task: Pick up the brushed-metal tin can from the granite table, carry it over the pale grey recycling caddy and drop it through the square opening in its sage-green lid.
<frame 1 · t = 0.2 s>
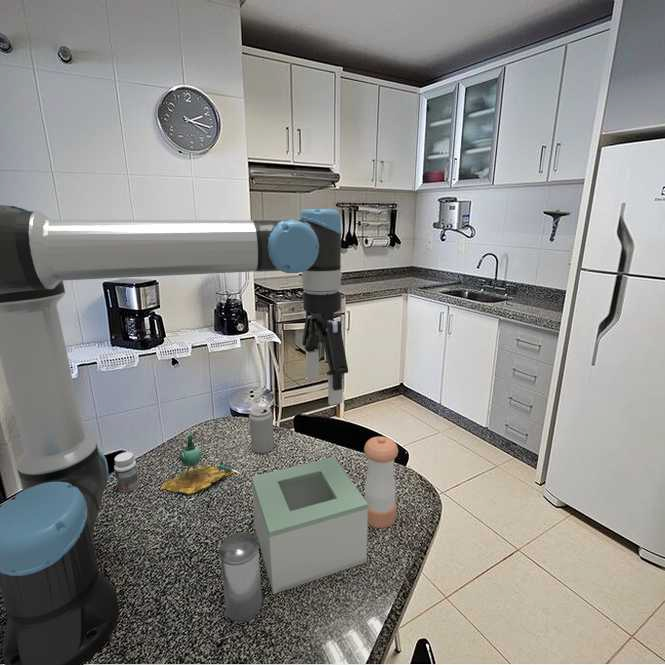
hand: (323, 390, 84), 28 cm above the table, fingers open, 13 cm apart
pill bottle: (129, 487, 97), on the table
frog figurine: (198, 483, 99), on the table
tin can: (244, 604, 67), on the table
beverage can: (263, 449, 113), on the table
pepper shaker: (379, 516, 87), on the table
caddy: (308, 545, 79), on the table
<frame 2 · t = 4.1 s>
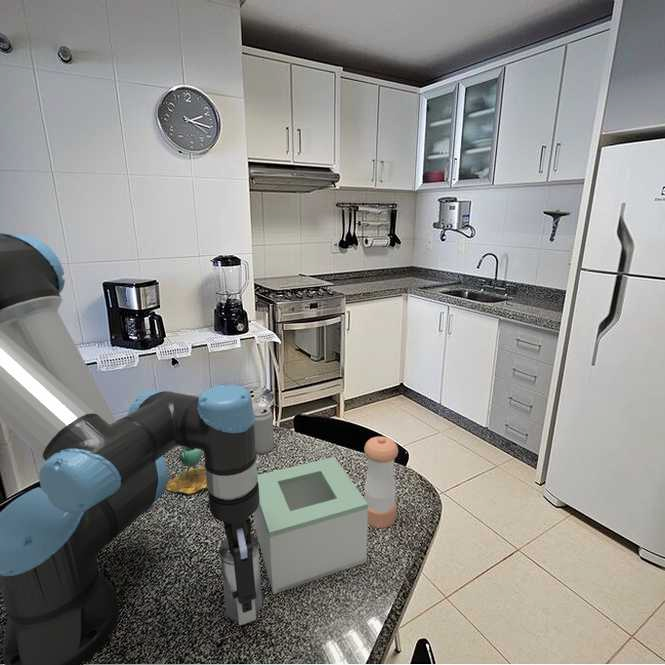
hand: (243, 602, 67), 0 cm above the table, fingers closed on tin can, 6 cm apart
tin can: (244, 604, 67), on the table, touching gripper
everything else where it was.
when the fingers open (15 cm above the table, at t = 7.7 s): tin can drops 14 cm, resting on caddy.
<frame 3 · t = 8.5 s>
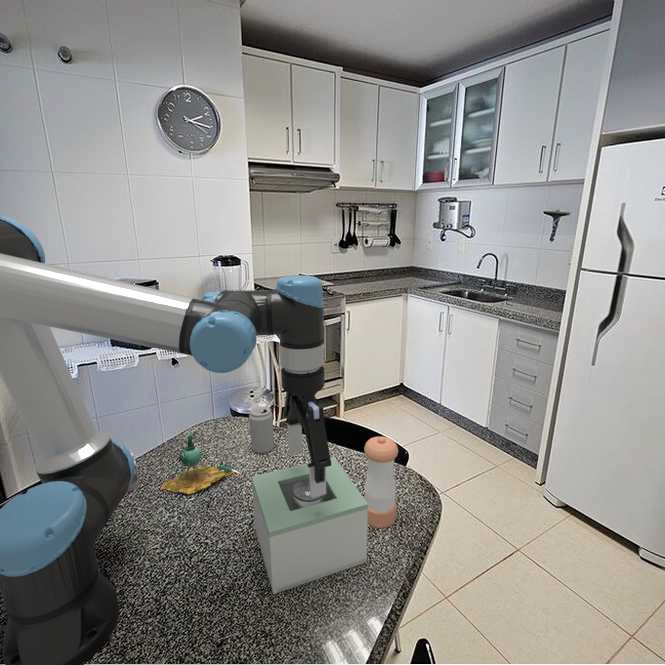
hand: (305, 472, 75), 17 cm above the table, fingers open, 13 cm apart
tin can: (307, 541, 79), point 1 cm above the table, touching caddy
everything else where it was.
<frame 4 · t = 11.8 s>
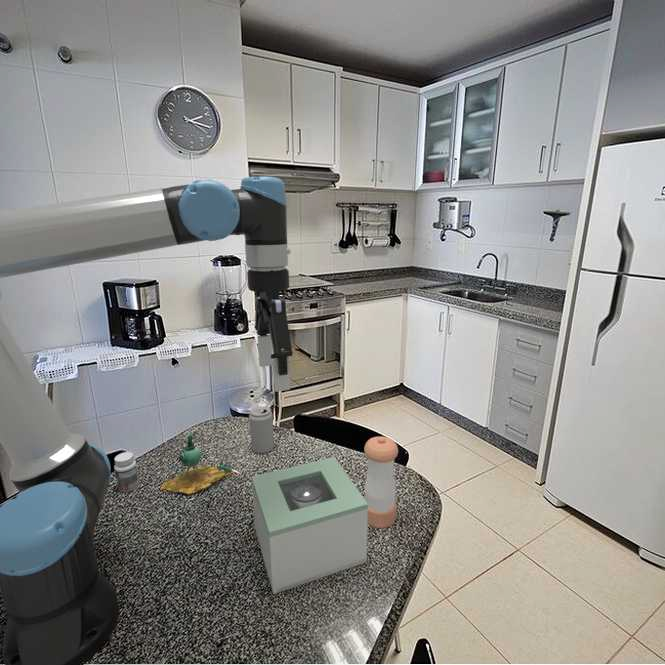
hand: (273, 377, 78), 33 cm above the table, fingers open, 13 cm apart
nothing on the table moved.
at the end: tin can inside the target area on the caddy (0.0 cm from its centre), point 0.9 cm above the caddy's base; the gripper is holding nothing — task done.
